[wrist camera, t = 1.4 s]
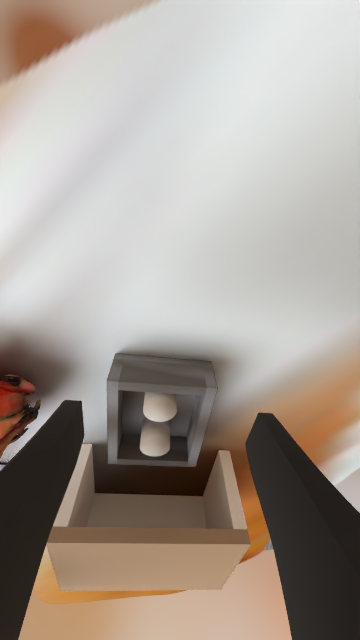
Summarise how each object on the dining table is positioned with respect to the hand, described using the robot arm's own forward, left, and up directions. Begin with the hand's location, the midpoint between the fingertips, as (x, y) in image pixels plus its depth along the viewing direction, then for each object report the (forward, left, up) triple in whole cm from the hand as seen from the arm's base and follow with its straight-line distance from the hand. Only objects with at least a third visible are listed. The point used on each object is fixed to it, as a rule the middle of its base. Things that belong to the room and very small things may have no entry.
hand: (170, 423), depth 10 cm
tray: (-9, 0, -10) cm, 13 cm away
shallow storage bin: (-22, 0, -9) cm, 23 cm away
